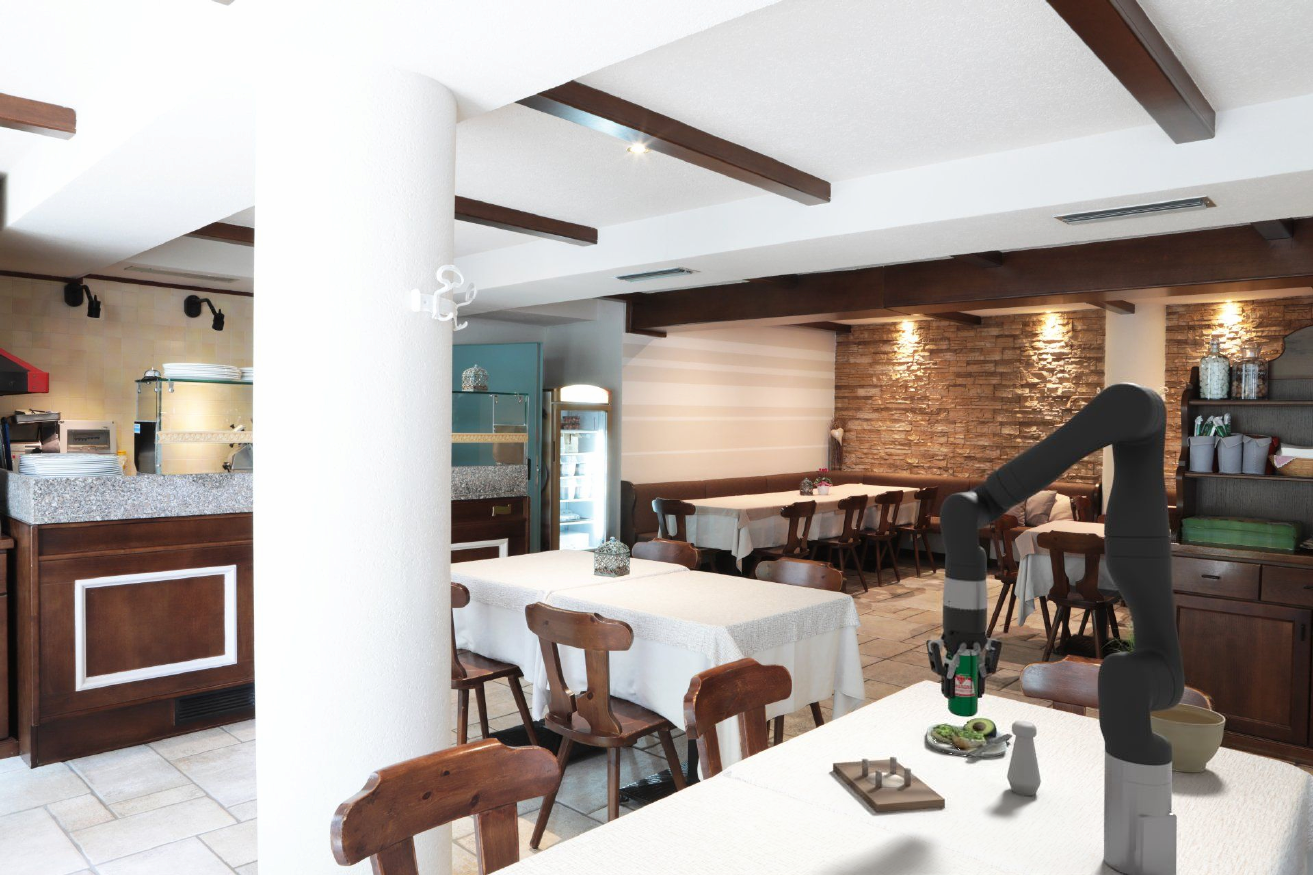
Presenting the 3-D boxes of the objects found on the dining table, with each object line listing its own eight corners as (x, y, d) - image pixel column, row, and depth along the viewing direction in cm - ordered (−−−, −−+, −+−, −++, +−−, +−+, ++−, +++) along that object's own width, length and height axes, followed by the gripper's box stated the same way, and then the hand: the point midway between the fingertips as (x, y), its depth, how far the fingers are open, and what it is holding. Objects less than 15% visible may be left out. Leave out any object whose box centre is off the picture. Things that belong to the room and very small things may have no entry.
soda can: (945, 714, 156) (946, 647, 156) (950, 706, 160) (951, 641, 160) (975, 719, 153) (976, 651, 153) (979, 711, 158) (980, 645, 158)
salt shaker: (1043, 799, 161) (1044, 728, 161) (1010, 796, 162) (1011, 726, 162) (1036, 786, 166) (1036, 718, 167) (1004, 784, 168) (1005, 716, 168)
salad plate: (1015, 769, 176) (1015, 746, 176) (923, 757, 183) (923, 735, 183) (1011, 738, 195) (1011, 718, 195) (928, 728, 201) (928, 708, 201)
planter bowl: (1243, 773, 174) (1244, 719, 174) (1186, 784, 168) (1187, 728, 168) (1170, 747, 189) (1170, 696, 189) (1115, 756, 183) (1115, 704, 183)
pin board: (944, 807, 157) (945, 782, 157) (877, 812, 154) (877, 787, 154) (893, 766, 176) (893, 744, 176) (832, 770, 174) (833, 747, 174)
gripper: (938, 608, 151) (936, 705, 152) (1013, 606, 154) (1011, 702, 154) (917, 599, 159) (915, 692, 159) (989, 598, 161) (987, 689, 162)
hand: (962, 696), depth 157 cm, fingers closed on soda can, 5 cm apart
